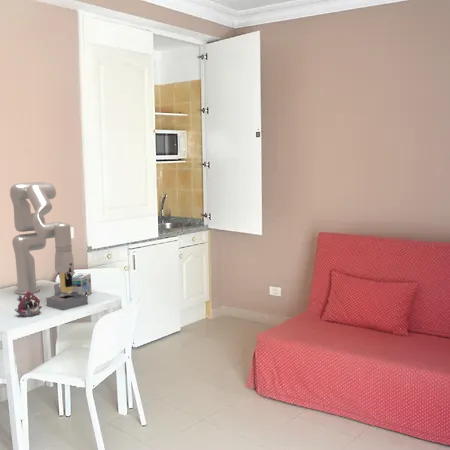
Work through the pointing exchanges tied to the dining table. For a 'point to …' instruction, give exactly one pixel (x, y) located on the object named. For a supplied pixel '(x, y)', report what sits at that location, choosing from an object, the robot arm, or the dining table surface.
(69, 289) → the square bit
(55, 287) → the round bit
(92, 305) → the dining table surface
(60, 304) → the bore block
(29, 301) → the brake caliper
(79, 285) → the light bulb box
